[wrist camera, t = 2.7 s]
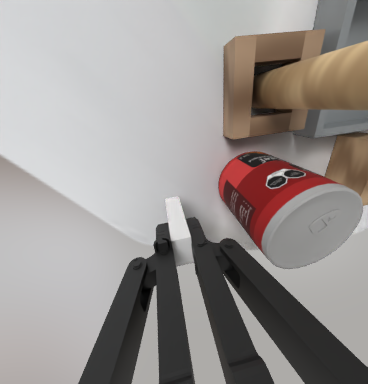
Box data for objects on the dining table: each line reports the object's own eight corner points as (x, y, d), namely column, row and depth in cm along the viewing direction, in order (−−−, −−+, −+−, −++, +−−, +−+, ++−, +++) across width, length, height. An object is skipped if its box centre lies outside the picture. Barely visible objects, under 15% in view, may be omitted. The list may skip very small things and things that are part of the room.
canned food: (283, 165, 22) (382, 209, 13) (247, 211, 25) (307, 277, 15) (240, 137, 20) (326, 167, 10) (205, 193, 22) (246, 258, 13)
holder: (223, 46, 16) (235, 36, 13) (302, 39, 16) (325, 29, 14) (223, 135, 19) (232, 139, 17) (287, 126, 20) (303, 129, 18)
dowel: (246, 75, 17) (582, -38, 4) (275, 71, 17) (680, -43, 4) (244, 110, 18) (478, 118, 5) (271, 106, 19) (556, 106, 6)
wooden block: (337, 135, 22) (384, 142, 17) (357, 132, 22) (408, 138, 18) (320, 189, 25) (355, 207, 21) (338, 186, 26) (376, 202, 21)
